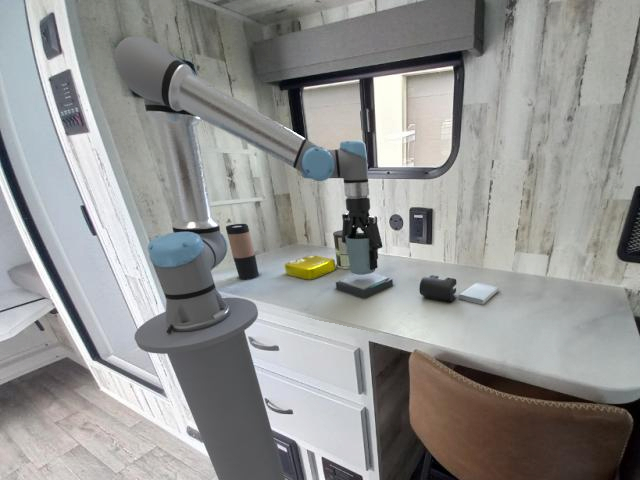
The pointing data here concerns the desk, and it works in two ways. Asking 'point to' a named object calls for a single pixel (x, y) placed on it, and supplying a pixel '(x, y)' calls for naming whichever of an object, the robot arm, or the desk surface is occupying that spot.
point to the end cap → (438, 288)
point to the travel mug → (242, 251)
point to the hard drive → (478, 293)
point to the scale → (364, 284)
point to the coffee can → (341, 251)
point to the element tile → (310, 267)
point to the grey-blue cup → (359, 254)
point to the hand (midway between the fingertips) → (363, 266)
